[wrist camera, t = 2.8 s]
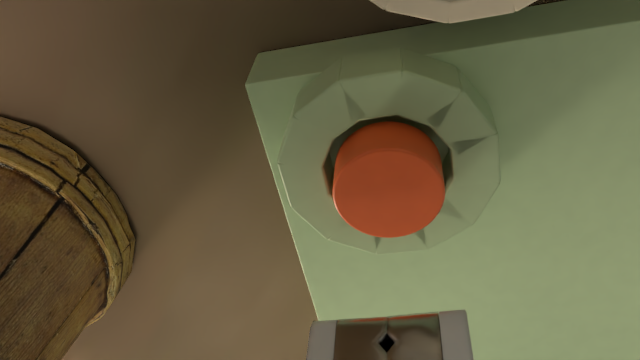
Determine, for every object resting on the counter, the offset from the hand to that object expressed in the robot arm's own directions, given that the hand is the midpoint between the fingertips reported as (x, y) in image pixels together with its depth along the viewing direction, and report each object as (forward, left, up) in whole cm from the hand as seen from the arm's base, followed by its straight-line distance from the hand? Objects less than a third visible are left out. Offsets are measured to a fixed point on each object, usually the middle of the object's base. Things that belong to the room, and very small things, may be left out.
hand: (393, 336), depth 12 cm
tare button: (0, 0, -5) cm, 5 cm away
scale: (+5, +4, -9) cm, 11 cm away
